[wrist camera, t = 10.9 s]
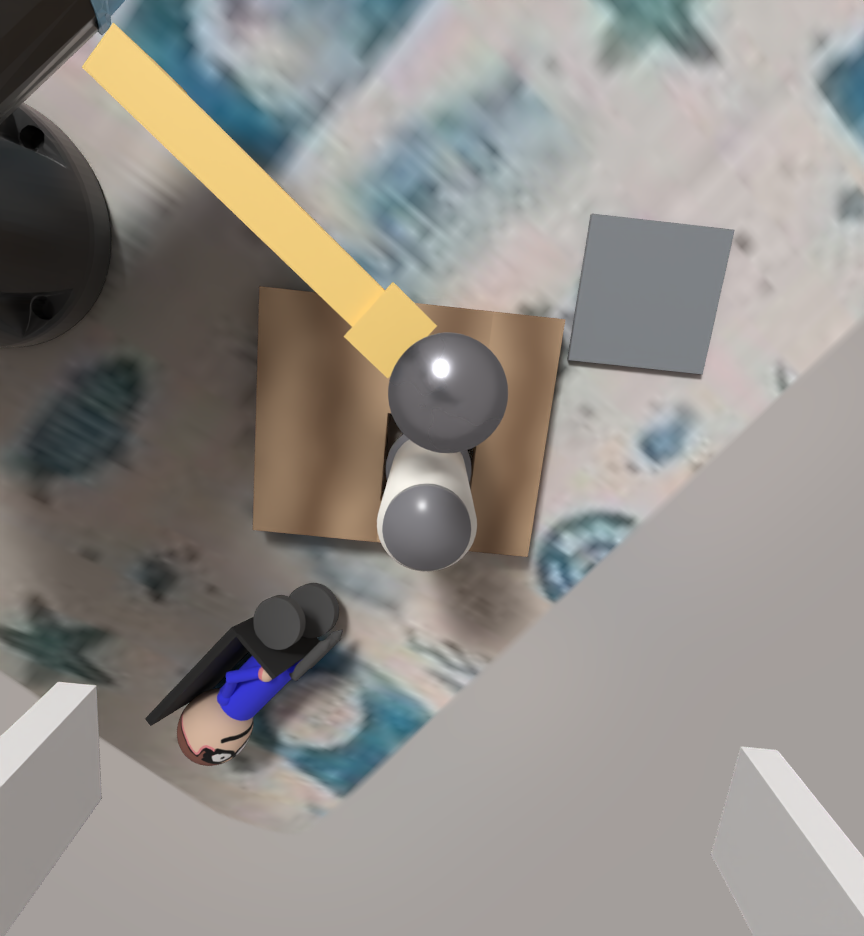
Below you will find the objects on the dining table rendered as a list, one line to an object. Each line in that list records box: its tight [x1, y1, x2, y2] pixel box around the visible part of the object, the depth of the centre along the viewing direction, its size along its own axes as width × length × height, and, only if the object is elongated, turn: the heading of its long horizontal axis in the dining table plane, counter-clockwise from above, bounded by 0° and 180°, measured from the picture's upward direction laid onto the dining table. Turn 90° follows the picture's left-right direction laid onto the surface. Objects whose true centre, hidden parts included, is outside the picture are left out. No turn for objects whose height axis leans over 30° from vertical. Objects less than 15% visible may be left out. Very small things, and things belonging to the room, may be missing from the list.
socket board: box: [253, 286, 565, 557], centre depth 38 cm, size 19×16×2 cm
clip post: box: [388, 332, 508, 453], centre depth 27 cm, size 4×4×20 cm
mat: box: [567, 214, 734, 374], centre depth 37 cm, size 9×9×1 cm
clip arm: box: [82, 23, 437, 378], centre depth 20 cm, size 2×13×3 cm, turn 46°
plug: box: [377, 434, 477, 571], centre depth 33 cm, size 5×5×15 cm
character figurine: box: [145, 583, 342, 766], centre depth 40 cm, size 8×7×15 cm
